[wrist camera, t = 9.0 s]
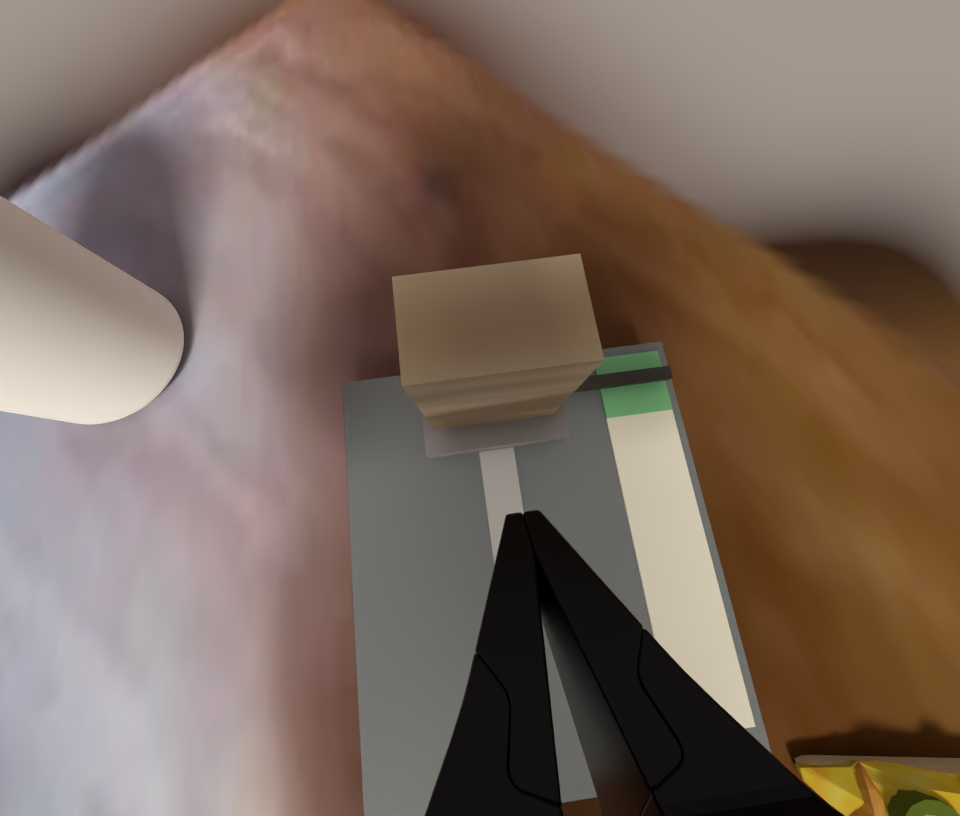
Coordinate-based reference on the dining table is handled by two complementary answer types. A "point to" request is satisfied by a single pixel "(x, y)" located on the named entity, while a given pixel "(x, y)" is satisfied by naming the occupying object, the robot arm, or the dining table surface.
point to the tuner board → (473, 549)
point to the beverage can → (77, 329)
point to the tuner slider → (500, 352)
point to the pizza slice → (884, 784)
